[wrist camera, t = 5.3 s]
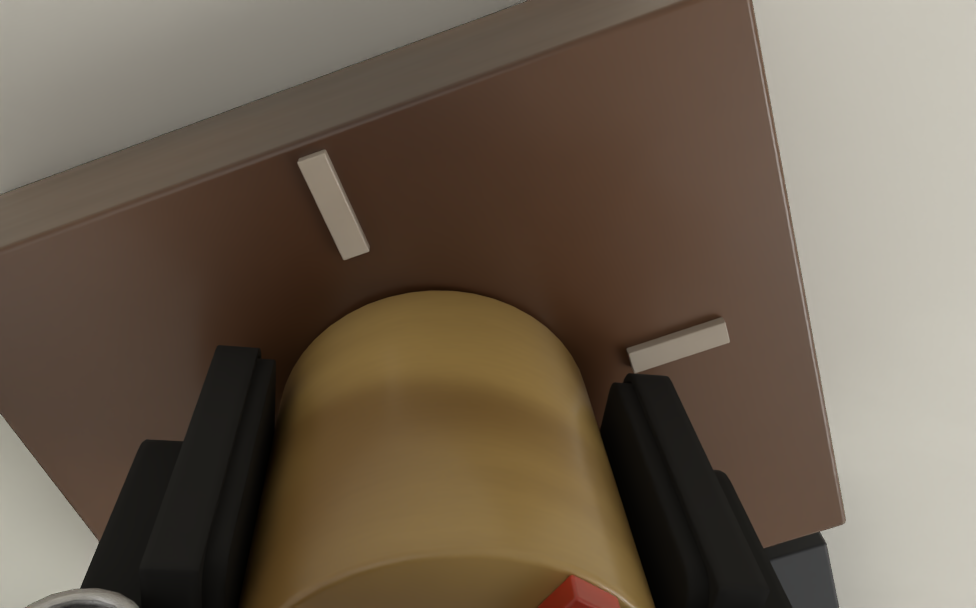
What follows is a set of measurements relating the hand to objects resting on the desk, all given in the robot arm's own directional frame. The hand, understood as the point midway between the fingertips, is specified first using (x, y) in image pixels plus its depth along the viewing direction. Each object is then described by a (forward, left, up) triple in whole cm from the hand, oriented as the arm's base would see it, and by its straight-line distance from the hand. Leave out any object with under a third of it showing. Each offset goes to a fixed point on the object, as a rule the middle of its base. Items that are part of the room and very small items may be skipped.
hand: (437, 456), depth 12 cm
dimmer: (0, 0, -4) cm, 4 cm away
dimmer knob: (0, 0, -1) cm, 1 cm away
